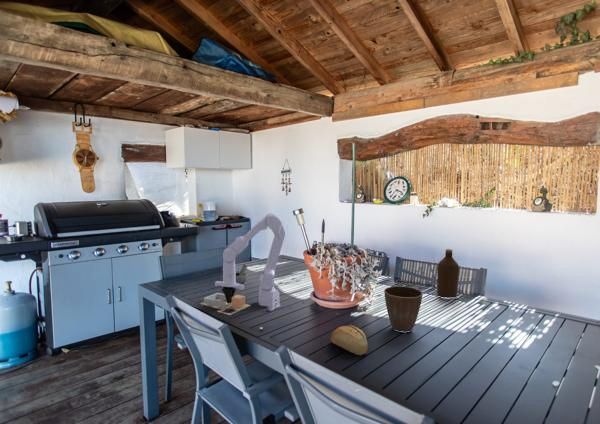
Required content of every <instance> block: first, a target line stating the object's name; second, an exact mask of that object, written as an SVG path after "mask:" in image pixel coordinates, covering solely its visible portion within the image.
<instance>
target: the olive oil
mask: <svg viewBox="0 0 600 424" xmlns="http://www.w3.org/2000/svg"><path fill="white" fill-rule="evenodd" d="M459 265H460V264H458V262H457V260H455V259H454V258H453V249H450V248H447V249H445V255H444V258H442V259H441V260H440V261H439V262H438V264H437V266H436V267H437V268H436V269H437V271H436V274H437V275H436V278H437V279H436V280H437V281H436V284H437V286H436V287H437V288H436V290H437V291H436V296H437V295H438V296H441V297H456V296H458V295H457V294H458V284H459V274H460V266H459ZM438 296H437V297H438ZM456 298H457V297H456Z"/></svg>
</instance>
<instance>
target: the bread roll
mask: <svg viewBox="0 0 600 424" xmlns="http://www.w3.org/2000/svg"><path fill="white" fill-rule="evenodd" d="M330 340H331V343H333V344H334V345H336V346H338V347H340V348H342V349H344V350H346V351H348V352H350V353H352V354H353V353H354V354H353V355H357V356H363V354H364V355H366V354H367V352H368V350H369V349H368V348H369V343H368V341H367V340H368V339H367V336H366V334H365V332H364V331H363V330H362V329H360V328H359V327H357V326H355V325H352V324H345V325H342V326H339V327H337V328H336V329H334V330H333V332H332V333H331V335H330Z"/></svg>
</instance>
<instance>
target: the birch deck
mask: <svg viewBox="0 0 600 424" xmlns="http://www.w3.org/2000/svg"><path fill="white" fill-rule="evenodd" d="M215 300H218V301H222V302H226V308H221V307H217V306H214V305H210V304H206V303H204V301H202V302H201V303H199V305H202V306H206V307H211V308H213V309H218V310H217V313H221V314H225V315H229V316H231V315H233V314H235V313H238V312H241V311H242V310H244V309H246V308H248V307H251V306H252V305H251V304H247V303H245V306H244V307H242V308H241V309H240V308H233V307H232V302H231V303H227V301H226V300H222V299H215ZM228 309H231V310H234V311H233V312H230V313H228V312H224V311H227V310H228Z"/></svg>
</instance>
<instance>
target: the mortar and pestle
mask: <svg viewBox="0 0 600 424" xmlns="http://www.w3.org/2000/svg"><path fill="white" fill-rule="evenodd" d="M241 267H242V268H241V269H240V271H238V272H236V283H239V284H243V285H244V286H245V283H246V282H247V279H248V273H246V272H247V268H248V267H249V266H248V264H245V263H243V264H242V266H241Z"/></svg>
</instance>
